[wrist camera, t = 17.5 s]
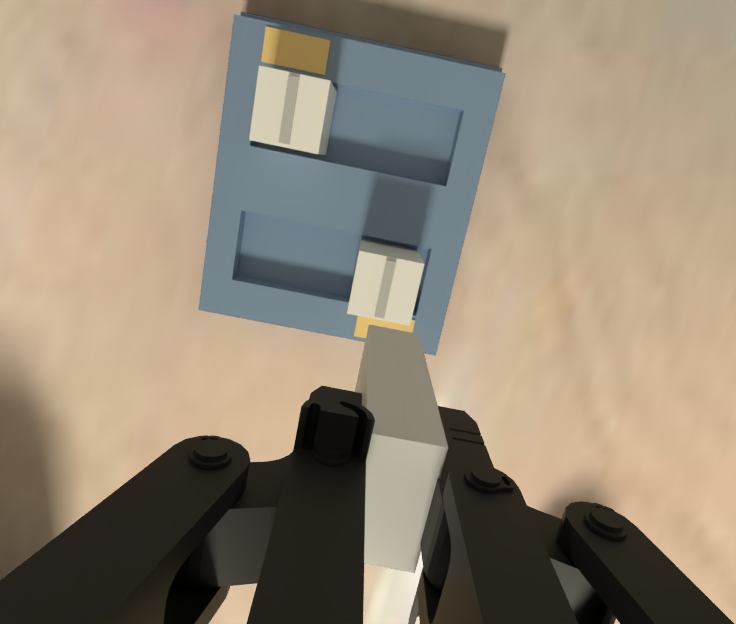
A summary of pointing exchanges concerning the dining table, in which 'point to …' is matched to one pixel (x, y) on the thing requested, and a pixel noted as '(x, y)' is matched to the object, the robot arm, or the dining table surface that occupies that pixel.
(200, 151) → the dining table surface
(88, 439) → the dining table surface
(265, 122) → the tab
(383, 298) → the tab
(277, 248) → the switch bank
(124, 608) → the robot arm
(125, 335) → the dining table surface
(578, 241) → the dining table surface
